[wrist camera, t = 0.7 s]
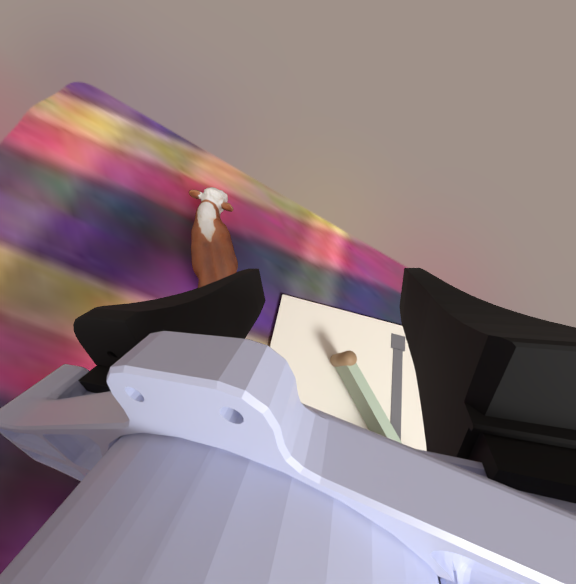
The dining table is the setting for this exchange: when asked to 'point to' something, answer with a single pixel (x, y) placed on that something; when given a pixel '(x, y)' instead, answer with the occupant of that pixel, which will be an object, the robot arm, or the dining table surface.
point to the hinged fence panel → (363, 394)
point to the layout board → (370, 359)
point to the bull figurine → (211, 238)
